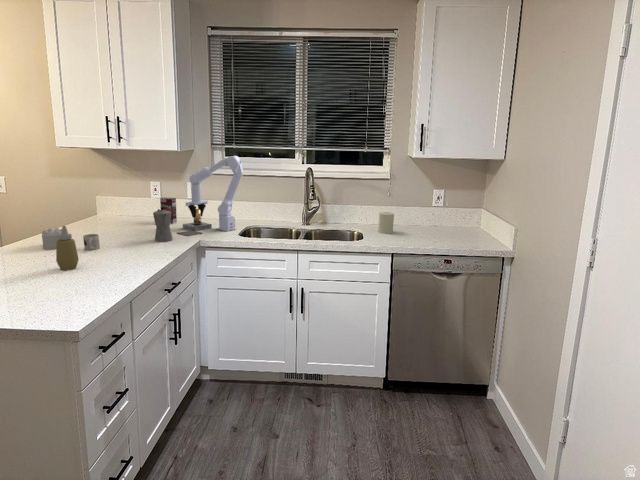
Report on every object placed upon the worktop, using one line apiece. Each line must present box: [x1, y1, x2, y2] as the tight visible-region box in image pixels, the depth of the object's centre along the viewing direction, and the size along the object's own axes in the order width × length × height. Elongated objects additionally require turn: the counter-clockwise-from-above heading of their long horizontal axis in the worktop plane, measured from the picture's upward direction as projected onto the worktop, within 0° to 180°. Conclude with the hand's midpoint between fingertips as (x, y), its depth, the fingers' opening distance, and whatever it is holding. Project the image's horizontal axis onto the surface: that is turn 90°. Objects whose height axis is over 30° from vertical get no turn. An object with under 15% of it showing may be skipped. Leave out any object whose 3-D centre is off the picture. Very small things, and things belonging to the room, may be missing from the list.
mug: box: [82, 233, 101, 251], centre depth 216 cm, size 10×7×7 cm, turn 21°
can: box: [377, 211, 395, 235], centre depth 273 cm, size 9×9×12 cm
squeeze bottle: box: [55, 225, 80, 271], centre depth 184 cm, size 8×8×18 cm
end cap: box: [193, 208, 202, 223], centre depth 269 cm, size 4×4×8 cm
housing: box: [182, 221, 213, 232], centre depth 270 cm, size 12×12×2 cm
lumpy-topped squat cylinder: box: [41, 227, 62, 251], centre depth 219 cm, size 10×13×9 cm
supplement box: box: [159, 196, 178, 225], centre depth 283 cm, size 9×5×16 cm, turn 73°
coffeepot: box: [152, 206, 173, 243], centre depth 238 cm, size 15×9×18 cm, turn 33°
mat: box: [176, 230, 203, 237], centre depth 256 cm, size 10×10×1 cm
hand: (197, 216), depth 269 cm, fingers closed on end cap, 4 cm apart
